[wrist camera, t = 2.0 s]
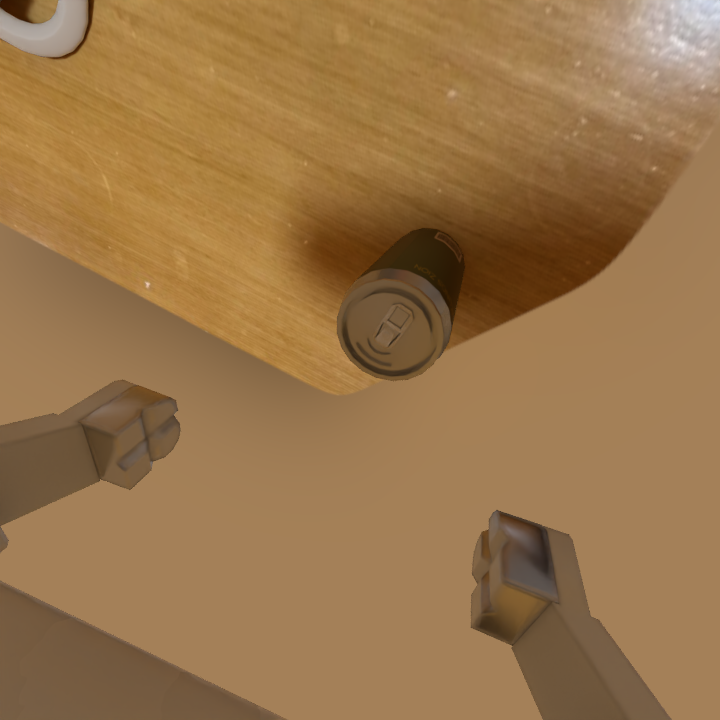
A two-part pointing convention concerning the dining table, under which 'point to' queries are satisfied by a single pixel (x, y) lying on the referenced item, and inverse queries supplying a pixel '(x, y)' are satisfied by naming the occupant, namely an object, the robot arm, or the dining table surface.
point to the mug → (48, 30)
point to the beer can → (403, 307)
